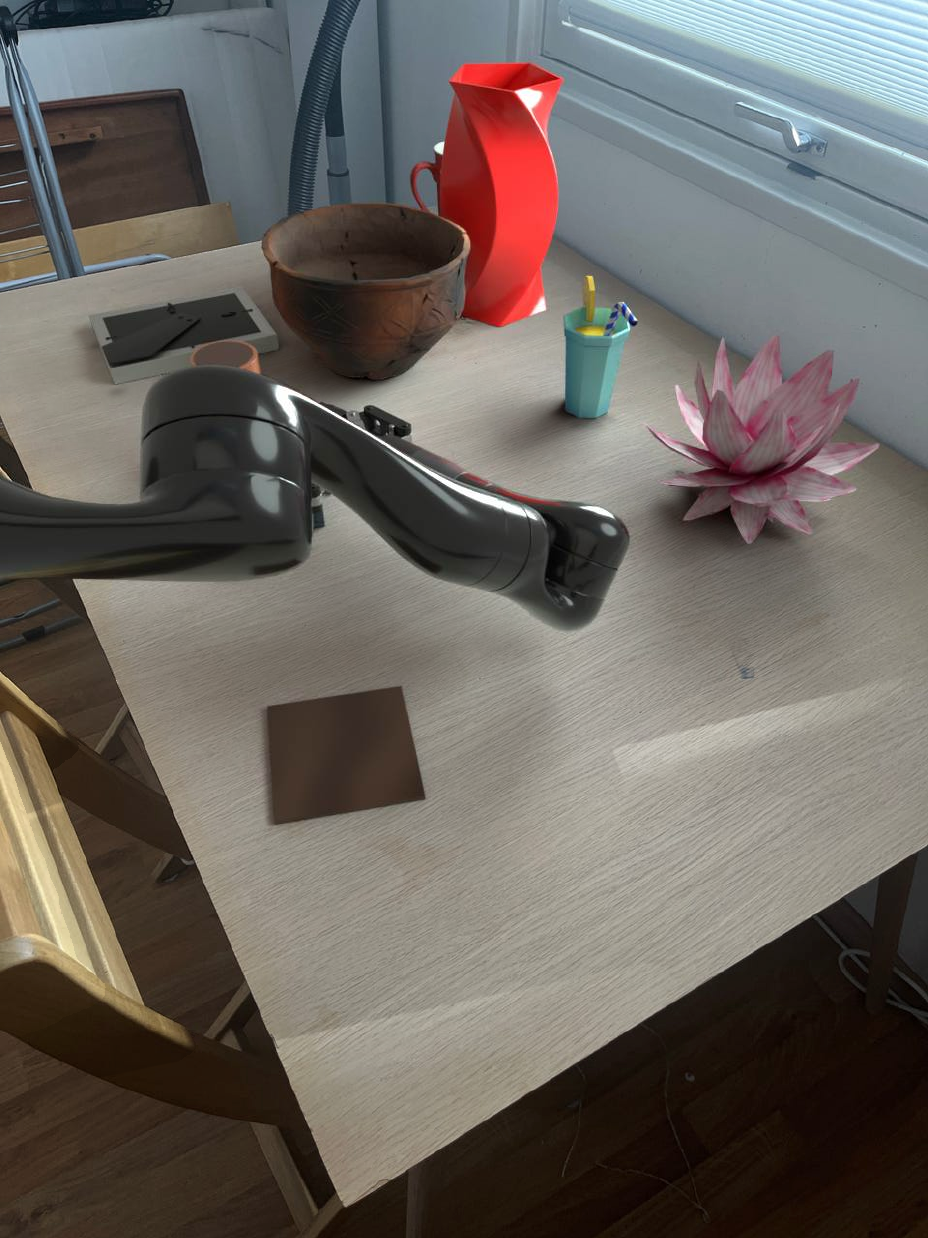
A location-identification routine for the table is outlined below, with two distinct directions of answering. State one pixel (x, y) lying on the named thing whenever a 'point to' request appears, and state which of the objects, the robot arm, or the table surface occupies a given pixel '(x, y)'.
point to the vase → (501, 185)
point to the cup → (593, 353)
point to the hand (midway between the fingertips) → (286, 429)
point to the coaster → (342, 755)
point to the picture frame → (177, 332)
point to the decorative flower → (766, 441)
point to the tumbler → (227, 355)
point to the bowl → (368, 283)
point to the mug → (436, 172)
